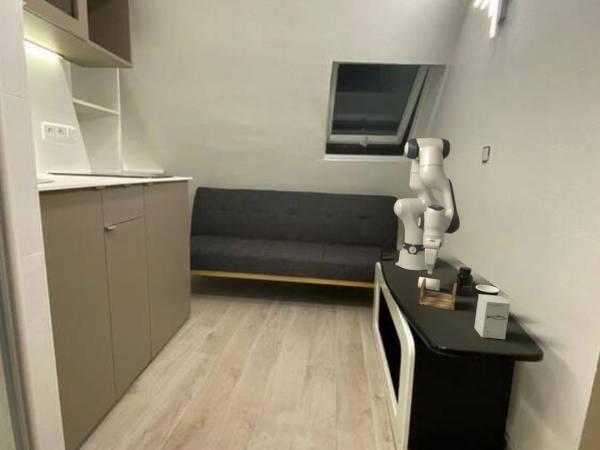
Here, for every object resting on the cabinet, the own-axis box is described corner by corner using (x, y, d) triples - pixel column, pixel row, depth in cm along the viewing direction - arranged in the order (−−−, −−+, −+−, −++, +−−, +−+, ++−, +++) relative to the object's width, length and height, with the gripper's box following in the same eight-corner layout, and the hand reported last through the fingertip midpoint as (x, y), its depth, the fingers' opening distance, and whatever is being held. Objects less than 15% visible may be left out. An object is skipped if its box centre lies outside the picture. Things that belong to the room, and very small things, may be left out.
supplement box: (481, 338, 113) (486, 301, 111) (473, 327, 120) (478, 293, 118) (505, 340, 112) (510, 303, 110) (496, 330, 119) (501, 295, 117)
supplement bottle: (465, 297, 149) (468, 270, 147) (450, 292, 155) (453, 267, 153) (474, 294, 153) (477, 268, 151) (459, 290, 158) (462, 265, 157)
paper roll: (417, 289, 159) (418, 279, 158) (419, 285, 164) (419, 275, 162) (438, 292, 155) (439, 282, 154) (439, 288, 160) (440, 278, 158)
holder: (419, 303, 140) (420, 284, 139) (422, 296, 149) (423, 278, 148) (453, 310, 135) (456, 290, 134) (454, 301, 144) (456, 283, 143)
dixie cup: (471, 316, 129) (474, 288, 127) (473, 309, 136) (476, 283, 134) (495, 322, 125) (499, 293, 123) (496, 314, 132) (500, 287, 130)
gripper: (428, 237, 166) (426, 265, 168) (423, 244, 148) (421, 275, 150) (442, 238, 163) (439, 267, 165) (439, 245, 145) (436, 277, 147)
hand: (430, 271), depth 157 cm, fingers open, 8 cm apart
